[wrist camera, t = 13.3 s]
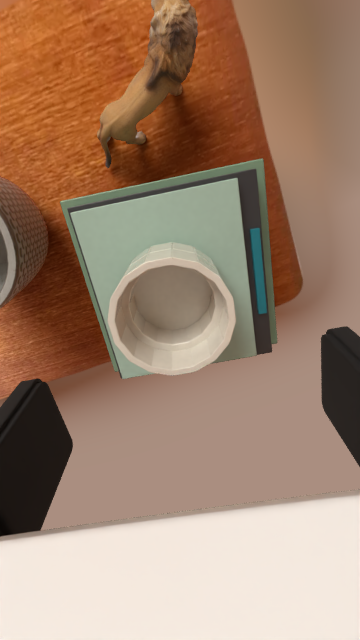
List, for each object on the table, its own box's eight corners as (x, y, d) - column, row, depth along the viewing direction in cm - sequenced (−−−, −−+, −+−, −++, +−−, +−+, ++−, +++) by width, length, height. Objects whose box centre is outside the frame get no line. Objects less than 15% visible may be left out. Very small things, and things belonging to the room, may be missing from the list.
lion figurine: (163, 16, 31) (159, -47, 22) (206, 56, 32) (217, 11, 24) (88, 153, 35) (63, 143, 27) (129, 183, 36) (116, 183, 28)
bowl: (214, 231, 20) (226, 246, 15) (228, 327, 22) (242, 364, 18) (110, 252, 20) (91, 272, 16) (136, 344, 23) (126, 384, 18)
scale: (249, 169, 21) (259, 167, 18) (265, 340, 26) (274, 356, 24) (75, 206, 21) (63, 208, 19) (124, 365, 27) (119, 383, 24)
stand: (224, 169, 36) (263, 158, 20) (238, 283, 42) (277, 343, 26) (107, 194, 37) (59, 201, 21) (136, 303, 42) (114, 372, 27)
